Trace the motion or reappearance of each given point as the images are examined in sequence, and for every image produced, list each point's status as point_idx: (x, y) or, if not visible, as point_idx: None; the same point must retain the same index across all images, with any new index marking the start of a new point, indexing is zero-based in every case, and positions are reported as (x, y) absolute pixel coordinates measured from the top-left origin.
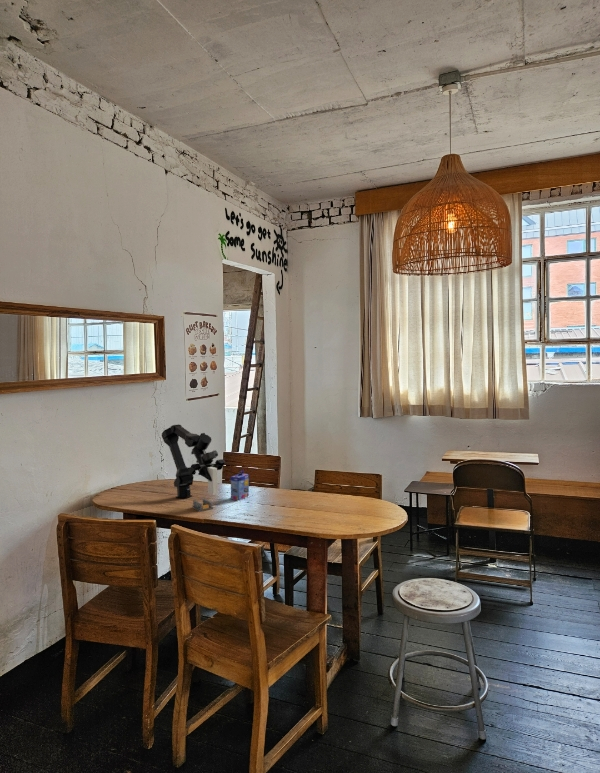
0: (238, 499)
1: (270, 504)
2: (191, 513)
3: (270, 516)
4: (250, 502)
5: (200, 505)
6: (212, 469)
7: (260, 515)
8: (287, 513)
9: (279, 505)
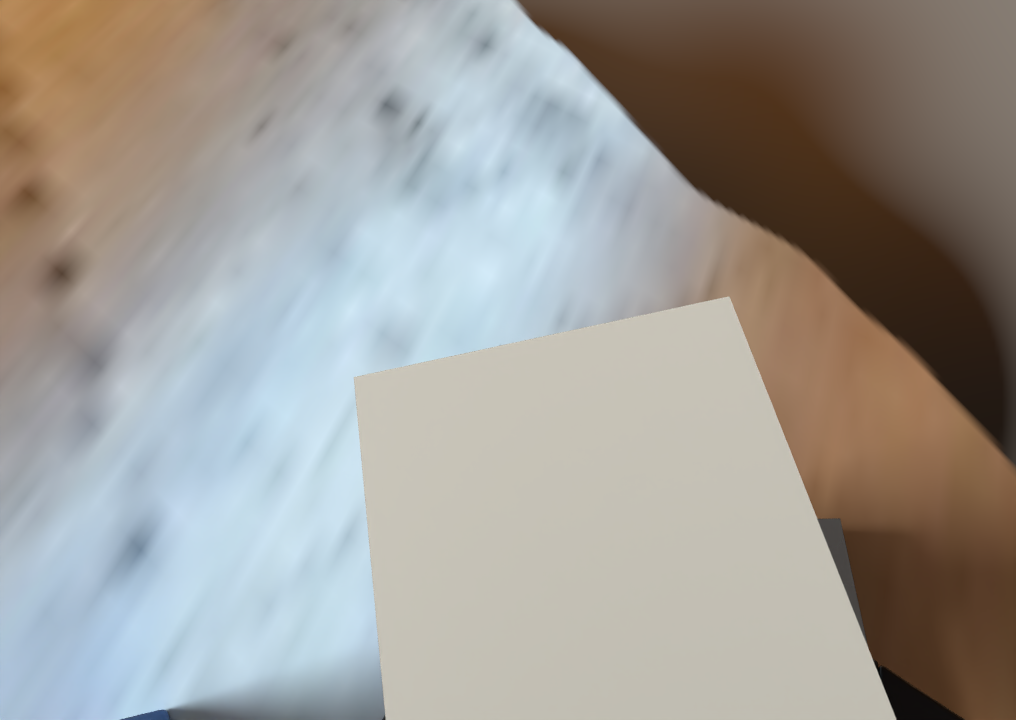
0: (156, 713)
1: (51, 310)
2: (927, 498)
3: (298, 22)
4: (123, 519)
5: (821, 522)
6: (728, 359)
7: (339, 73)
8: (161, 26)
9: (28, 235)
